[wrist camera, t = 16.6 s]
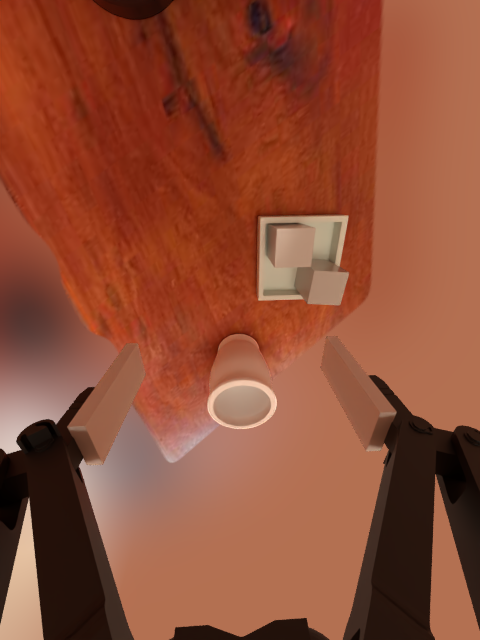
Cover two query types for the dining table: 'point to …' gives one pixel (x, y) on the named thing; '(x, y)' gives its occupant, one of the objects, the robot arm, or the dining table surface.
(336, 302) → the grey rectangular block
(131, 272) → the dining table surface
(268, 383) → the jar
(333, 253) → the bin
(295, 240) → the tall grey rectangular prism
